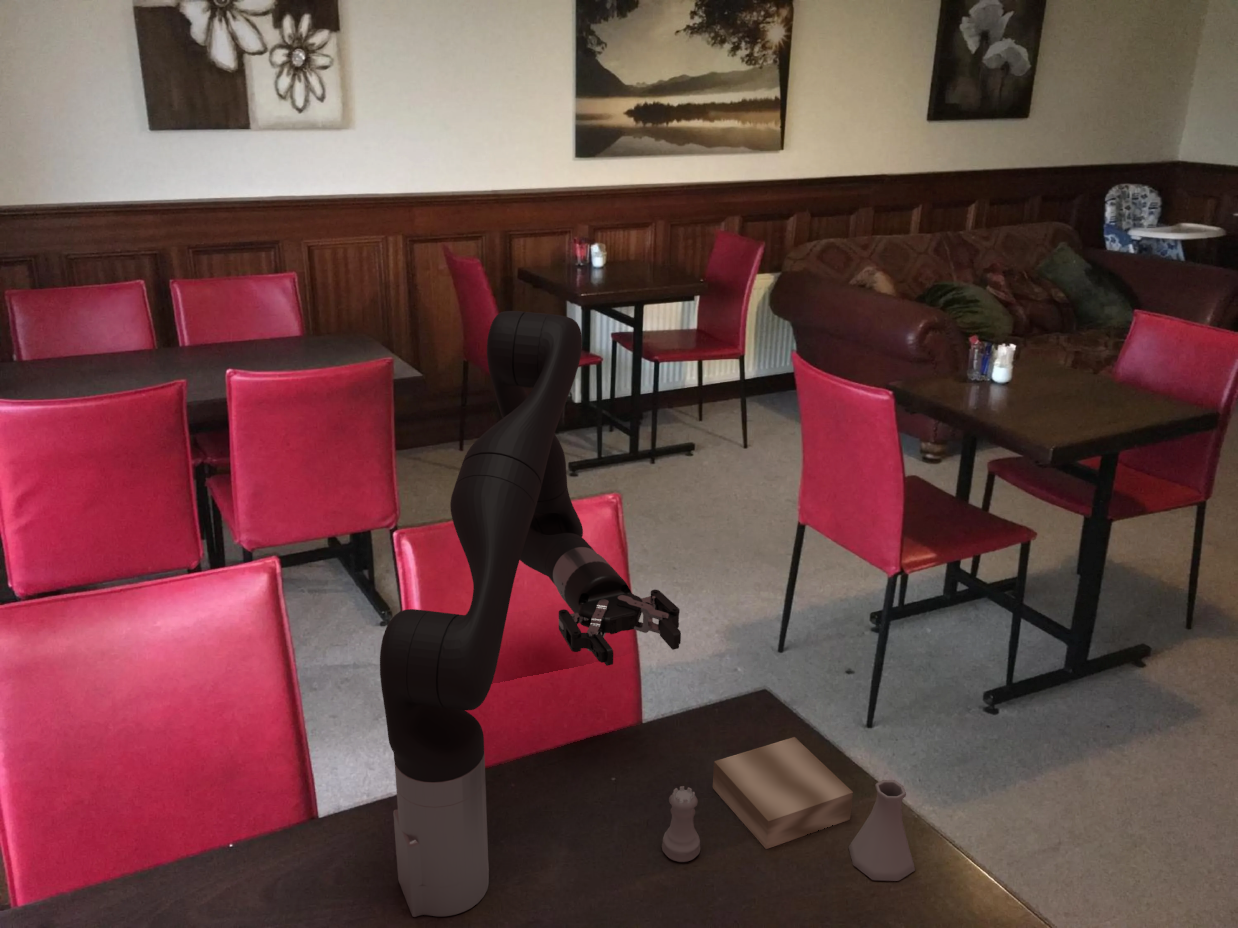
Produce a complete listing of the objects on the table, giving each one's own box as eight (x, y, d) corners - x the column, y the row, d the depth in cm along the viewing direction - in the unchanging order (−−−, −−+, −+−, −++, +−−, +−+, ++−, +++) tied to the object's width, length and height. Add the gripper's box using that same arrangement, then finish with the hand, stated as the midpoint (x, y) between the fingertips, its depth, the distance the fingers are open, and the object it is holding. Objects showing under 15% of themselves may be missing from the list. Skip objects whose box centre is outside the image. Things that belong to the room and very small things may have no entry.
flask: (837, 845, 120) (845, 774, 116) (892, 833, 122) (901, 762, 118) (869, 889, 113) (879, 815, 110) (926, 875, 115) (937, 802, 112)
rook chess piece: (700, 838, 120) (704, 782, 118) (699, 865, 116) (703, 807, 113) (662, 835, 121) (665, 778, 118) (660, 862, 117) (662, 804, 114)
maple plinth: (766, 849, 119) (768, 820, 118) (712, 787, 129) (714, 761, 128) (849, 819, 124) (853, 792, 122) (792, 762, 134) (794, 736, 133)
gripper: (538, 571, 129) (588, 636, 116) (640, 550, 135) (699, 610, 121) (539, 622, 132) (587, 691, 119) (639, 600, 138) (696, 664, 124)
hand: (644, 650), depth 120 cm, fingers open, 8 cm apart
